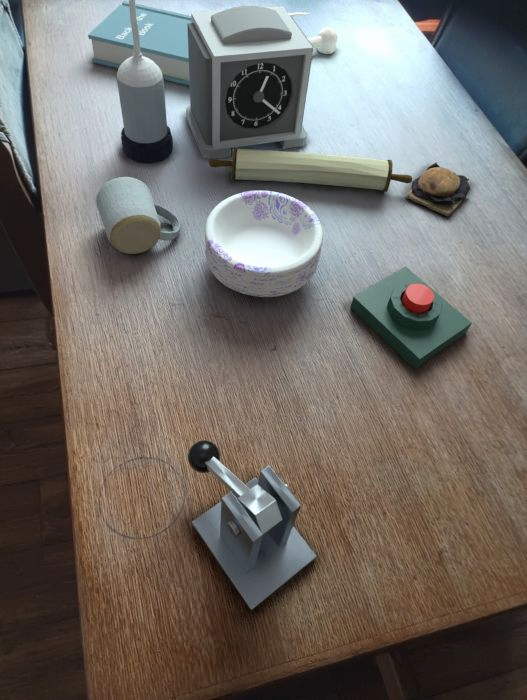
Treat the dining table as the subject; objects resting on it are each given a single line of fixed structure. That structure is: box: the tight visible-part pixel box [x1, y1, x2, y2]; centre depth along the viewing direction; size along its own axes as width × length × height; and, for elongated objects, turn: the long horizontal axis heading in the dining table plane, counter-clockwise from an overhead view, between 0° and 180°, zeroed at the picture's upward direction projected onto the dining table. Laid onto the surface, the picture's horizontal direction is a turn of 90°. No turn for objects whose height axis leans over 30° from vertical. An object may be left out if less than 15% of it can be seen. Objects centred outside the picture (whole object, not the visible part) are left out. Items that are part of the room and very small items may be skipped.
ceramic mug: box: [95, 176, 182, 255], centre depth 75 cm, size 11×8×8 cm
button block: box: [349, 266, 473, 370], centre depth 71 cm, size 12×10×4 cm
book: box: [87, 0, 192, 87], centre depth 104 cm, size 23×16×5 cm
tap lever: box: [187, 439, 282, 534], centre depth 50 cm, size 13×3×3 cm
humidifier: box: [116, 0, 174, 165], centre depth 79 cm, size 8×8×25 cm
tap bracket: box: [191, 464, 318, 613], centre depth 49 cm, size 10×8×12 cm
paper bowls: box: [204, 190, 324, 298], centre depth 72 cm, size 15×15×8 cm
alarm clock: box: [185, 5, 314, 160], centre depth 87 cm, size 18×13×18 cm
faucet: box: [288, 12, 338, 55], centre depth 108 cm, size 4×18×10 cm, turn 122°
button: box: [402, 284, 434, 314], centre depth 69 cm, size 4×4×2 cm
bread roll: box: [406, 162, 471, 217], centre depth 87 cm, size 11×8×4 cm
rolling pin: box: [208, 147, 413, 193], centre depth 85 cm, size 32×6×5 cm, turn 88°
